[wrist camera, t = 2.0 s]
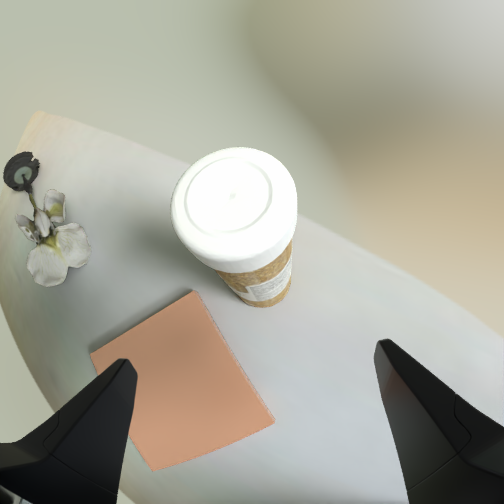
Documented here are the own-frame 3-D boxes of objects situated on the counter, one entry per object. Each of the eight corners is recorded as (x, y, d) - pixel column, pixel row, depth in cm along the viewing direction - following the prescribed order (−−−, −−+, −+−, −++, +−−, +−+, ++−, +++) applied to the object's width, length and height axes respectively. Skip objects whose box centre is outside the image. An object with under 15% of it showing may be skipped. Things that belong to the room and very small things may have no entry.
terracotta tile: (275, 419, 18) (274, 422, 17) (157, 467, 17) (152, 471, 16) (197, 292, 22) (193, 290, 21) (95, 354, 21) (89, 354, 20)
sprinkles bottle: (225, 269, 22) (151, 178, 10) (274, 243, 23) (257, 125, 10) (250, 319, 21) (193, 284, 8) (302, 291, 21) (324, 216, 8)
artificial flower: (56, 161, 33) (34, 115, 24) (112, 269, 28) (79, 228, 19) (14, 193, 30) (-15, 153, 20) (57, 313, 25) (8, 287, 16)
